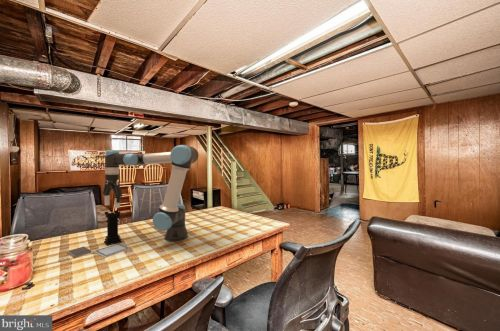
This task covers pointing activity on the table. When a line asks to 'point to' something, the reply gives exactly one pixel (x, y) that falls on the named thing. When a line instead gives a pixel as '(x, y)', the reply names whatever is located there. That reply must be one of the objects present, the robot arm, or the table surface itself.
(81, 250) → the ink pad
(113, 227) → the chess piece
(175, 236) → the robot arm
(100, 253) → the print sheet
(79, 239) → the table surface
